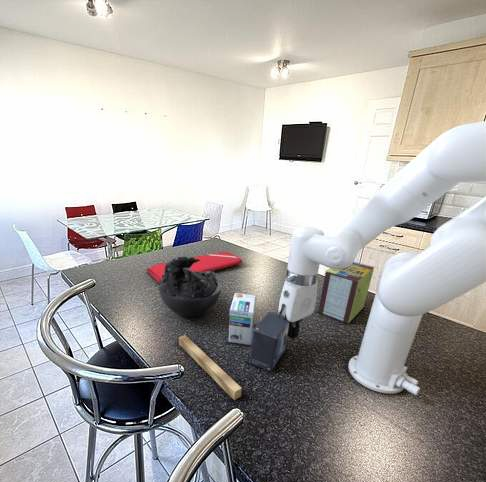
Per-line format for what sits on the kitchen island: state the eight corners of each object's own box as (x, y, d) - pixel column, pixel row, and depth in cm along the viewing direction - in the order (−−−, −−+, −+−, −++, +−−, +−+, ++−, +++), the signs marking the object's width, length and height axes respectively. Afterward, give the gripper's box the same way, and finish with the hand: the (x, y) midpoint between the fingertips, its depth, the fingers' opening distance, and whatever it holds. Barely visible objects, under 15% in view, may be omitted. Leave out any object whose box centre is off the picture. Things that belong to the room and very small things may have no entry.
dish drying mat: (146, 271, 128) (146, 263, 127) (224, 256, 148) (224, 249, 146) (160, 285, 116) (159, 276, 114) (243, 266, 135) (243, 259, 134)
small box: (272, 373, 72) (276, 338, 68) (248, 363, 75) (251, 329, 71) (286, 350, 80) (291, 318, 76) (264, 342, 83) (267, 310, 79)
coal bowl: (183, 292, 110) (182, 245, 103) (230, 307, 101) (233, 256, 94) (147, 317, 94) (143, 263, 87) (200, 336, 85) (200, 278, 78)
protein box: (364, 307, 103) (374, 266, 97) (348, 324, 93) (359, 280, 87) (334, 297, 110) (343, 258, 103) (316, 312, 99) (324, 270, 93)
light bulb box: (251, 346, 82) (254, 313, 77) (227, 342, 83) (229, 310, 79) (254, 325, 91) (256, 294, 87) (232, 322, 93) (234, 292, 88)
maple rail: (241, 396, 65) (241, 388, 64) (234, 400, 64) (234, 392, 63) (185, 342, 83) (185, 334, 82) (179, 344, 82) (178, 337, 81)
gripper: (293, 289, 67) (283, 352, 75) (331, 275, 75) (318, 333, 83) (269, 277, 73) (262, 337, 80) (307, 265, 81) (297, 321, 88)
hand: (291, 335), depth 82 cm, fingers closed
